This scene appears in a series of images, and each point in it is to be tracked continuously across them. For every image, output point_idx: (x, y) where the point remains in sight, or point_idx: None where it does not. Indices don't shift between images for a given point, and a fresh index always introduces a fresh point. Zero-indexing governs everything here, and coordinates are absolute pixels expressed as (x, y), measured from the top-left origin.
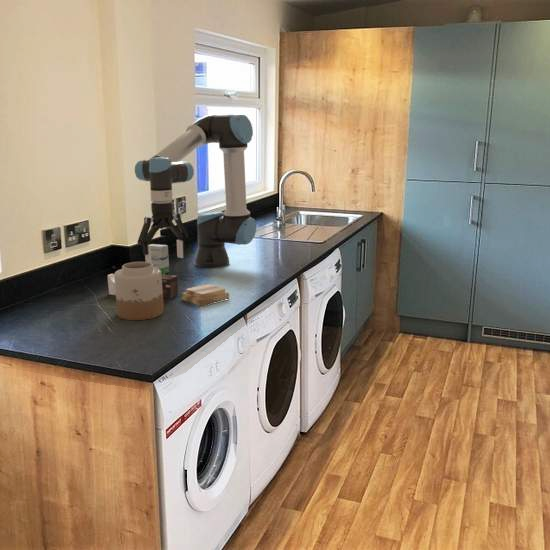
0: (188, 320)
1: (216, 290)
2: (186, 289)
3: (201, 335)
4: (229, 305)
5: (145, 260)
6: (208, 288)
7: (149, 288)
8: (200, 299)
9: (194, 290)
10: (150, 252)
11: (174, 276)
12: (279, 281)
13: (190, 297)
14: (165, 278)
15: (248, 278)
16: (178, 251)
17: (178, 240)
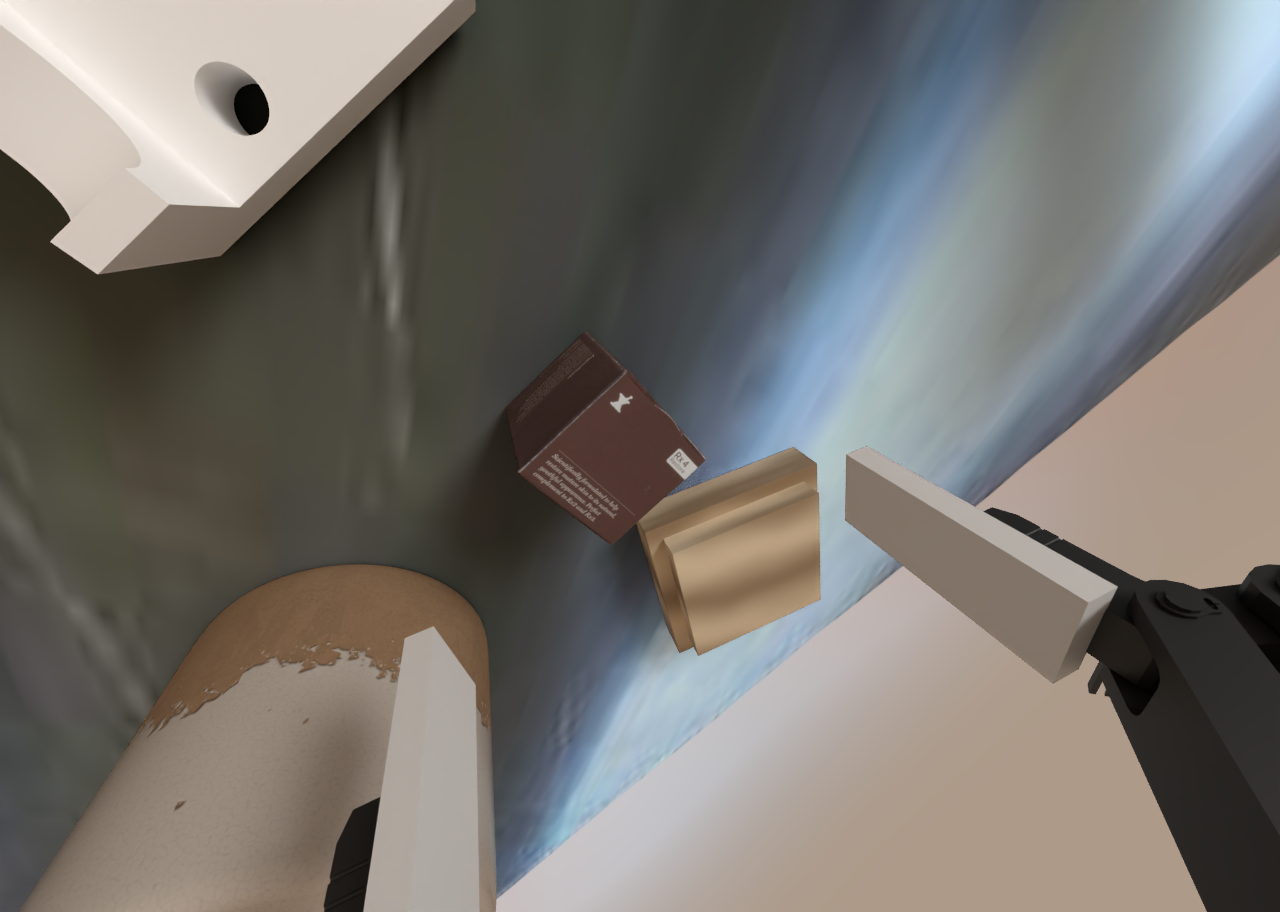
0: (555, 748)
1: (778, 614)
2: (673, 559)
3: (547, 844)
4: (757, 631)
5: (400, 669)
6: (769, 577)
7: None
8: (677, 643)
9: (698, 592)
10: (470, 852)
11: (678, 479)
12: (1090, 399)
13: (658, 584)
14: (595, 513)
15: (1082, 271)
16: (904, 517)
17: (1070, 639)
